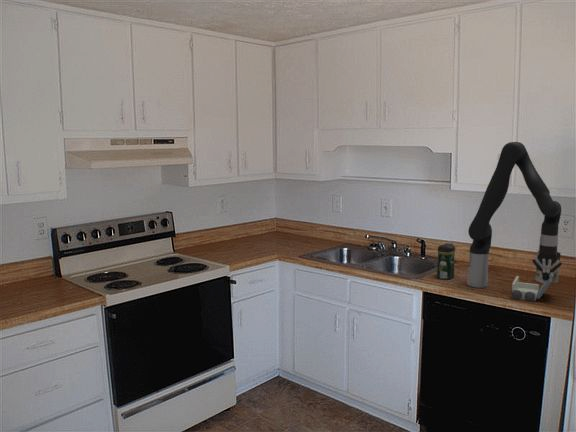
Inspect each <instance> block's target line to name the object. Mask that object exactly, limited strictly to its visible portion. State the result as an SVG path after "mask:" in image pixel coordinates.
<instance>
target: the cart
mask: <svg viewBox="0 0 576 432" xmlns="http://www.w3.org/2000/svg"><path fill="white" fill-rule="evenodd" d="M519 277H520V276H519V275H516V276H515V278H514V280H513V282H512V283H511V298H510V299H514V300H517V301H518V300H522V301H527V302H536V300H537V298H536V297H537V295H538V292H539V289H540V285H539V284H537V283H527V282H520V278H519Z"/></svg>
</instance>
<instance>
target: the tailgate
mask: <svg viewBox="0 0 576 432" xmlns="http://www.w3.org/2000/svg"><path fill="white" fill-rule="evenodd" d="M553 275H554V274H553V273H551V274H550V276H549V279H548V280H547V281H545V282H544V283H542V285H541V287H539V292H538V295H537V297H536V300H537V299H538V300H540V298H541V297H542V296H543V294H544V293H545V292H546V290H547V289H548V287H549V286H550V285H551V284H552V283H551V282H552V279H553Z"/></svg>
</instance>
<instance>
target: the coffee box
mask: <svg viewBox="0 0 576 432" xmlns="http://www.w3.org/2000/svg"><path fill="white" fill-rule="evenodd" d="M538 255H539V250H537V256H538ZM557 258H558V260H559V261H560V262H561V252H558V251H557ZM538 264H539V265H540V266H541V268H543V265H542V264H541V263H540V261H539V260H538ZM555 266H556V262H555V263H554V264H553V265H552V266H551V268H550V269H552V268H554V267H555ZM547 267H548V266H547V265H546V272H547ZM535 268H536V269H535V279H534V280H535V281H536V282H539V283H540V284H544V282H545V280H544V279H542V275H543V272H542V271H539V270H538V268H537V267H536V266H535ZM551 273H553V274H554V275H553V279H552V282H551V283H550V284H559V275H560V267H559V268H557V269H556V270H555V271H554V272H551ZM551 273H550V274H551ZM550 274H549V276H550Z"/></svg>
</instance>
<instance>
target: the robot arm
mask: <svg viewBox="0 0 576 432" xmlns="http://www.w3.org/2000/svg"><path fill="white" fill-rule="evenodd" d="M515 165H516V166H517V167H518V169H519V171H520V173H521V174H522V176H523V180H524V183H525V185H526V187H527V188H528V190H529V192H530V194H531V195H532V196H533V197H534V199H535V201H536V204H537V206H538V208H539V210H540V212H541V213H542V215H543V216H544V218H543V221H542V223H541V229H540V237H539V245H538V247H539V248H538V251H539V255H538V254H537V255H538V256H537V257H536V258H533V259H532V264H533V265H534V266H535V268H536V267H537V268H538V270H539V271H542V272H543V275H542V279H544V280H545V281H547V280H548V279H549V274H550V273H551V272H554V271H555V270H556V269H557V268H559V269H560V267H561V266H562V264H563V262H562V261H561V260H560V261H559V260H558V258H557V252H558V245H559V224H560V219H561V215H562V205H561V204H560V202H559V201H556V200H553V198H552V197H551V195H550V194H551V192H550V189H549V188H548V187H547V185H546V183H545V181H544V180H543V178H542V177H541V175H540V174H539V173H538V171H537V169H536V168H535V166H534V164H533V162H532V160H531V157H530V155H529V153H528V150H527V148H526V147H525V144H523V143H522V142H521V141H520V142H519V141H510V142H507V143H506V144H504V145H503V147H502V148H501V151H500V155H499V158H498V161H497V164H496V167H495V169H494V172H493V174H492V176H491V178H490V181H489V183H488V185H487V187H486V189H485V191H484V195H483V197H482V199H481V201H480V205H479V207H478V210H477V212H476V214H475V215H474V217H473V220H472V221H471V223H470V225H469V228H468V229H467V230H468V231H467V232H468V236H469V238H470V239H472V243H471V245H470V246H469V256H468V257H469V259H468V260H469V261H468V267H467V279H466V286H469V287H473V288H477V289H478V288H479V289H480V288H481V289H482V288H483V289H484V288H487V287H488V279H489V278H488V276H489V275H488V274H489V261H490V260H489V259H490V249H491V247H492V235H493V228H492V226H491V224H490V221H491V219H492V218H493V216H494V214H495V213H496V211H497V210H498V209H499V208H500V206H501V205H502V204H503V202H504V200H505V197H506V196H507V193H508V190H509V186H510V179H511V174H512V172H513V169H514V168H515ZM538 260H539V261H540V263H541V264H542V265H543V268H541V266H540V265H539V264H538ZM555 262H556V266H555V267H554V268H552V269H550V268H551V266H552V265H553V264H554V263H555ZM546 265H547V266H548V267H547V272H546Z"/></svg>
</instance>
